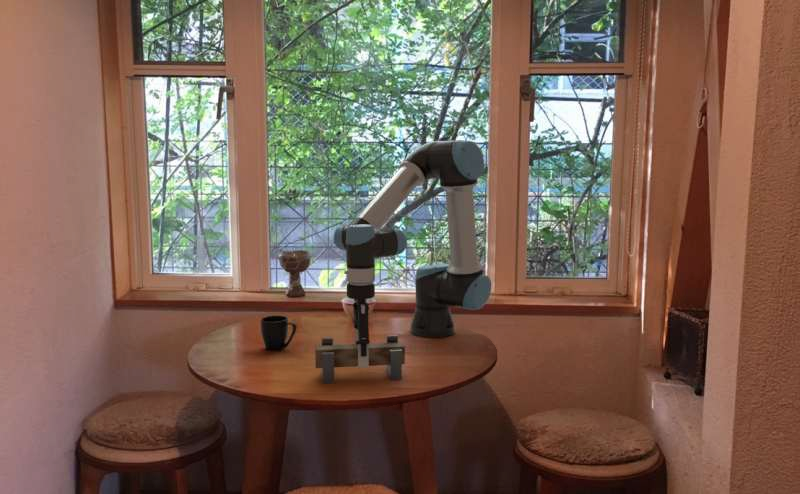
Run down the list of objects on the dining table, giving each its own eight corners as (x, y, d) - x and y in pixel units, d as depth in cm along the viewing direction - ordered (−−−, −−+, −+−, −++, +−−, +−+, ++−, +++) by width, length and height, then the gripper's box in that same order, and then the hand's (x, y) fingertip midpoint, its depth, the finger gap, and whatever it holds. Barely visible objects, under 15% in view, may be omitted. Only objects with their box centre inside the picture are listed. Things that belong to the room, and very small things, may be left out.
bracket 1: (333, 372, 174) (332, 337, 172) (334, 382, 165) (333, 346, 164) (322, 372, 173) (321, 337, 172) (322, 383, 165) (322, 346, 164)
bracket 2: (397, 369, 176) (397, 334, 175) (401, 379, 168) (401, 343, 167) (386, 369, 176) (386, 335, 174) (390, 380, 168) (390, 343, 166)
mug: (287, 355, 188) (286, 324, 187) (256, 349, 194) (255, 320, 193) (303, 348, 196) (302, 318, 194) (273, 343, 201) (272, 314, 200)
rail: (402, 359, 174) (402, 342, 173) (404, 364, 170) (404, 346, 169) (315, 363, 170) (315, 345, 170) (315, 368, 166) (315, 350, 166)
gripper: (343, 274, 179) (344, 346, 182) (349, 292, 154) (350, 375, 157) (370, 273, 180) (370, 345, 183) (379, 291, 155) (380, 374, 158)
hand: (361, 359), depth 170 cm, fingers open, 13 cm apart
